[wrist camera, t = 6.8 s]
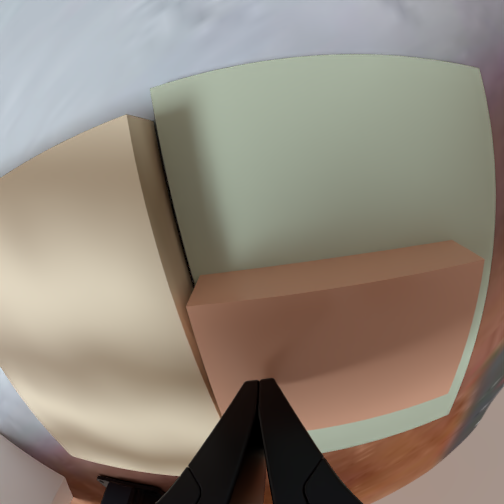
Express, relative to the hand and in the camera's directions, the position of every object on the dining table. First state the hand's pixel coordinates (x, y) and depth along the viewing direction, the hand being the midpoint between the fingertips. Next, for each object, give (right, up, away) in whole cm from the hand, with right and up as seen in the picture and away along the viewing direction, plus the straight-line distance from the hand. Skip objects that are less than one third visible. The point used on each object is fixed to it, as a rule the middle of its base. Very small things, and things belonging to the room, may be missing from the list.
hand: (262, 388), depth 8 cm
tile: (+3, +1, +2) cm, 4 cm away
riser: (-8, 0, +3) cm, 8 cm away
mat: (+4, +2, +2) cm, 5 cm away
